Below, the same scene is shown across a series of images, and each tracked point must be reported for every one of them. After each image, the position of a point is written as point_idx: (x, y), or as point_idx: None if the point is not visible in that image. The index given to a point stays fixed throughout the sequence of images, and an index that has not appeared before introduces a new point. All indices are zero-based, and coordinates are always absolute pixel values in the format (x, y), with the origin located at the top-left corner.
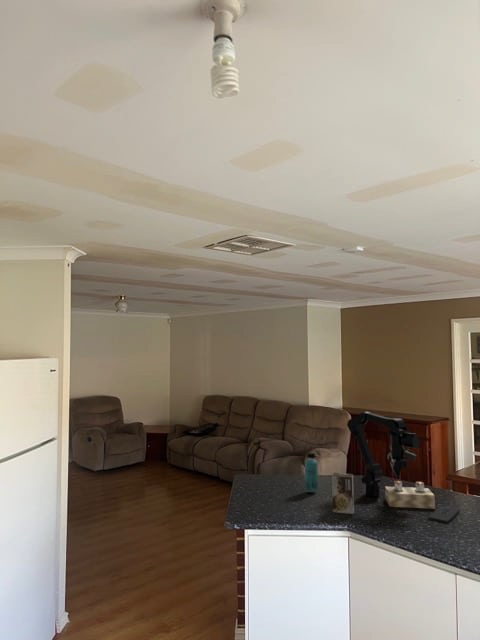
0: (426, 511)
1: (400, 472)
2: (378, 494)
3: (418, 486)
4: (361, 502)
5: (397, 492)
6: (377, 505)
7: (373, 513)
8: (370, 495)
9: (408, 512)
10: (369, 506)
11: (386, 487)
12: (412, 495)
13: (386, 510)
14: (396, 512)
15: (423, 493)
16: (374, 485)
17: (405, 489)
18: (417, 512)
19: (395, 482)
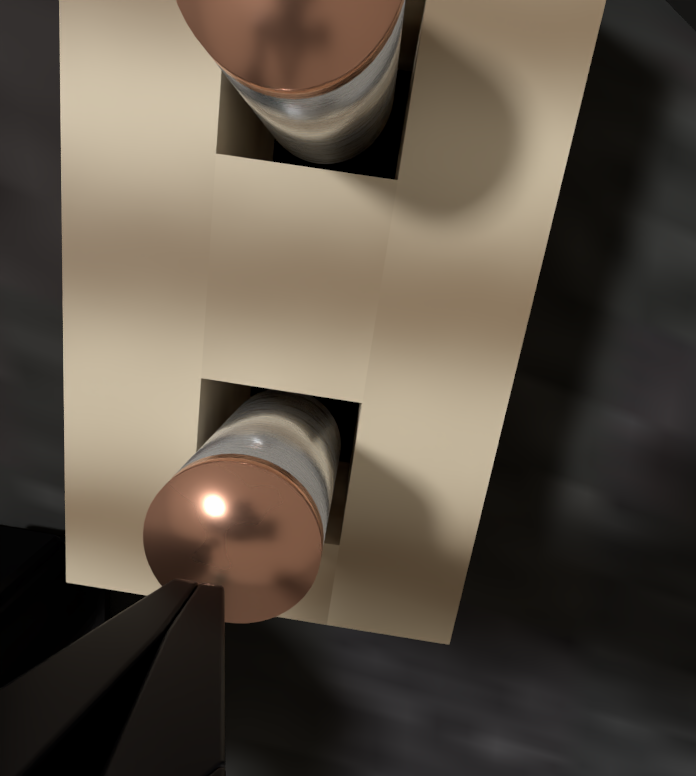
0: (640, 170)
1: (222, 745)
2: (57, 547)
3: (377, 75)
4: (292, 738)
5: (404, 519)
6: (385, 635)
7: (624, 737)
8: (91, 626)
9: (645, 411)
10: (416, 710)
11: (126, 584)
12: (525, 308)
13: (550, 606)
14: (626, 534)
15: (486, 48)
16: (4, 681)
17: (215, 321)
18: (661, 306)
19: (281, 608)
